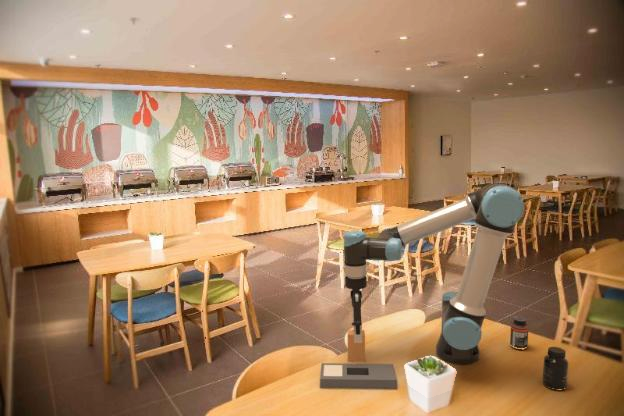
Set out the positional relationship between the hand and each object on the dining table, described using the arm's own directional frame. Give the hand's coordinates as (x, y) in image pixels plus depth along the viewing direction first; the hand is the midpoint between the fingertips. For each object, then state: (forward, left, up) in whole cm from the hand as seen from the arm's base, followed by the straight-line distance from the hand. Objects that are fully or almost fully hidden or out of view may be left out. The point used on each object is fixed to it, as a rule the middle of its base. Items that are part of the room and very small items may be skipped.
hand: (357, 333), depth 157 cm
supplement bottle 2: (-62, +14, -11) cm, 64 cm away
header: (0, +14, -10) cm, 17 cm away
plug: (0, 0, -10) cm, 11 cm away
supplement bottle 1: (-61, -12, -11) cm, 63 cm away
